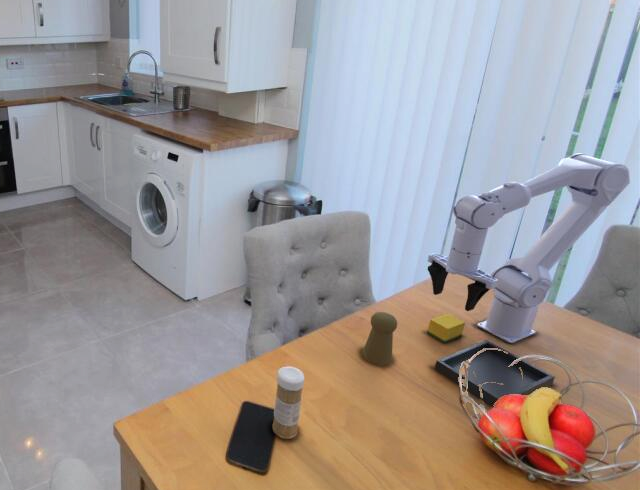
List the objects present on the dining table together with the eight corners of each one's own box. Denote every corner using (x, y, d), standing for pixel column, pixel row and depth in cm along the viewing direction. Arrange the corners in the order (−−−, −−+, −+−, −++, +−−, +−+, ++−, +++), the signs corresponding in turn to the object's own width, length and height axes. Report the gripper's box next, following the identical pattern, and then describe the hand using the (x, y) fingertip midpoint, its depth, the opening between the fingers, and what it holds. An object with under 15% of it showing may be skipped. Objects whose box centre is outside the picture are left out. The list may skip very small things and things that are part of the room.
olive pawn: (385, 348, 111) (393, 308, 107) (396, 366, 106) (405, 324, 102) (358, 347, 112) (365, 307, 108) (367, 365, 106) (375, 323, 102)
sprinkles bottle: (285, 418, 93) (291, 362, 88) (302, 434, 89) (310, 377, 84) (266, 426, 91) (272, 370, 86) (283, 444, 88) (290, 385, 82)
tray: (484, 347, 111) (486, 339, 110) (551, 385, 99) (555, 376, 98) (434, 368, 105) (436, 360, 104) (500, 411, 93) (503, 402, 92)
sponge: (443, 326, 118) (447, 312, 117) (461, 336, 115) (465, 322, 113) (426, 333, 116) (430, 319, 115) (444, 343, 113) (448, 329, 111)
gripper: (423, 240, 112) (412, 290, 117) (488, 266, 99) (472, 321, 104) (444, 234, 114) (432, 284, 119) (509, 259, 102) (493, 313, 107)
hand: (452, 301), depth 112 cm, fingers open, 7 cm apart
